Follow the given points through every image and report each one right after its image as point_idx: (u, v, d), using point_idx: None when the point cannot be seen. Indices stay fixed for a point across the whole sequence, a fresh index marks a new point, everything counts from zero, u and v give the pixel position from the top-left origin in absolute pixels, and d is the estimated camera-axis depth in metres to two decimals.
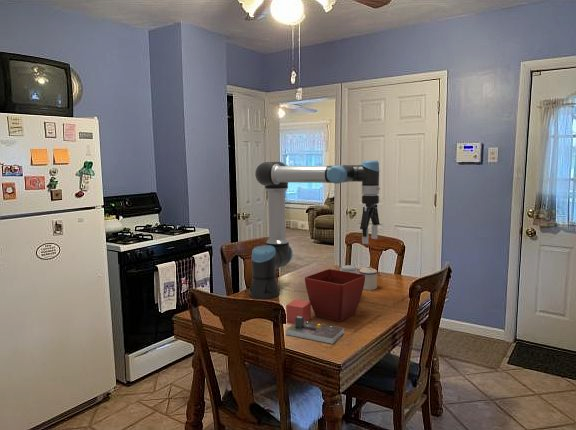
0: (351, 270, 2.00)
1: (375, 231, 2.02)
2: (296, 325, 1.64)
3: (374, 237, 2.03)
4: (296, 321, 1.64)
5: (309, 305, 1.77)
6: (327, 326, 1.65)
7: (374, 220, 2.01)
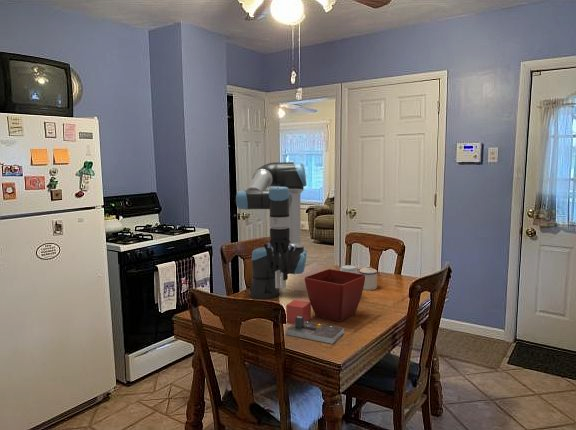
0: (351, 270, 2.00)
1: None
2: (296, 325, 1.64)
3: None
4: (296, 321, 1.64)
5: (309, 305, 1.77)
6: (327, 326, 1.65)
7: None
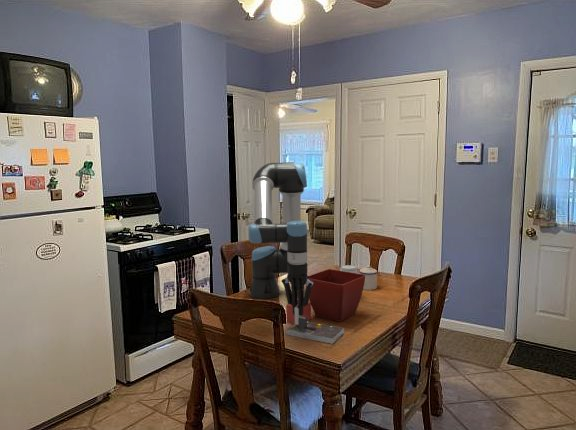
0: (351, 270, 2.00)
1: None
2: (299, 326, 1.63)
3: None
4: (299, 322, 1.63)
5: (309, 305, 1.77)
6: (327, 326, 1.65)
7: None
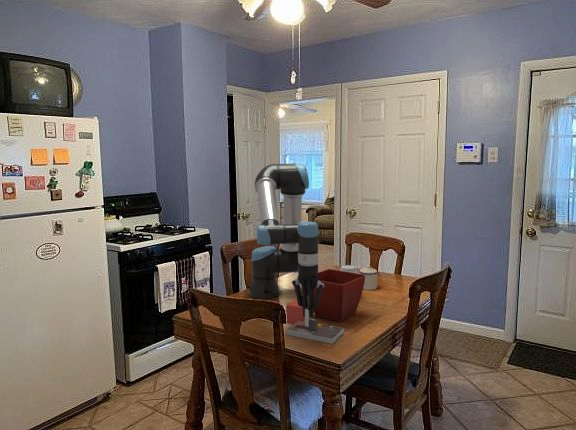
0: (351, 270, 2.00)
1: None
2: (309, 328, 1.61)
3: None
4: (309, 323, 1.61)
5: None
6: (327, 326, 1.65)
7: None
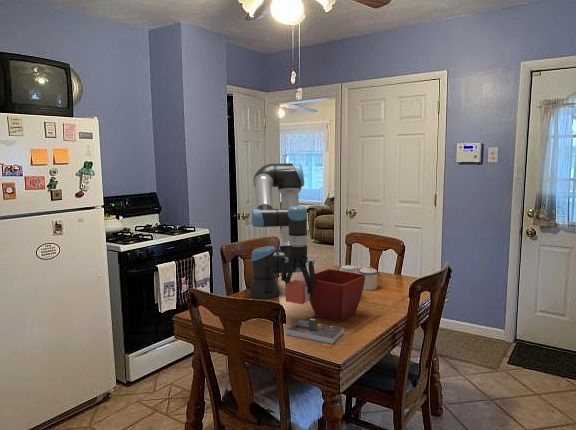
0: (351, 270, 2.00)
1: None
2: (309, 327, 1.61)
3: None
4: (309, 323, 1.61)
5: None
6: (327, 326, 1.65)
7: None
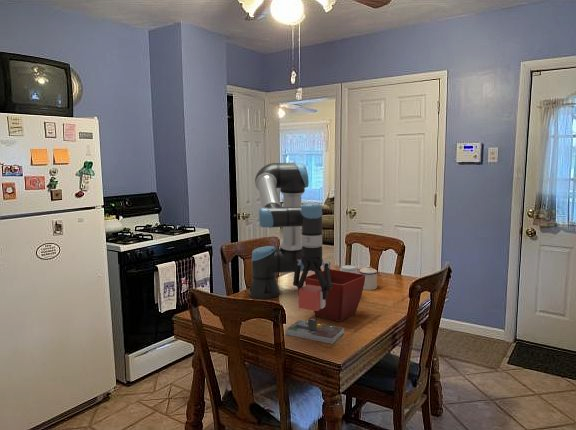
0: (351, 270, 2.00)
1: None
2: (309, 327, 1.61)
3: None
4: (309, 323, 1.61)
5: None
6: (327, 326, 1.65)
7: None
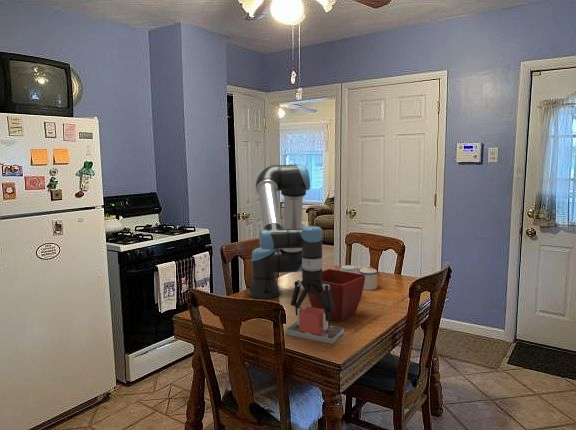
0: (351, 270, 2.00)
1: None
2: None
3: None
4: None
5: None
6: None
7: None
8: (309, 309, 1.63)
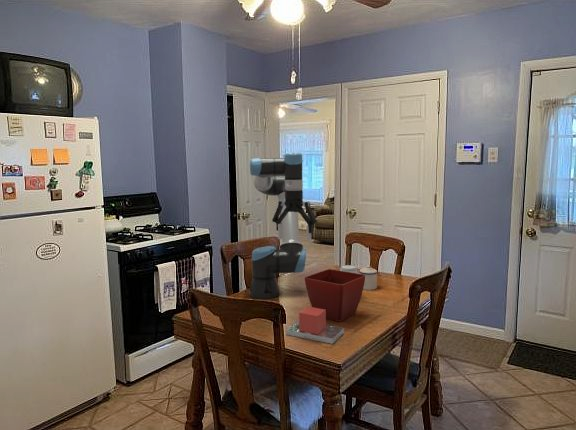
0: (351, 270, 2.00)
1: None
2: None
3: None
4: None
5: (324, 313, 1.62)
6: (327, 326, 1.65)
7: None
8: (309, 309, 1.63)
